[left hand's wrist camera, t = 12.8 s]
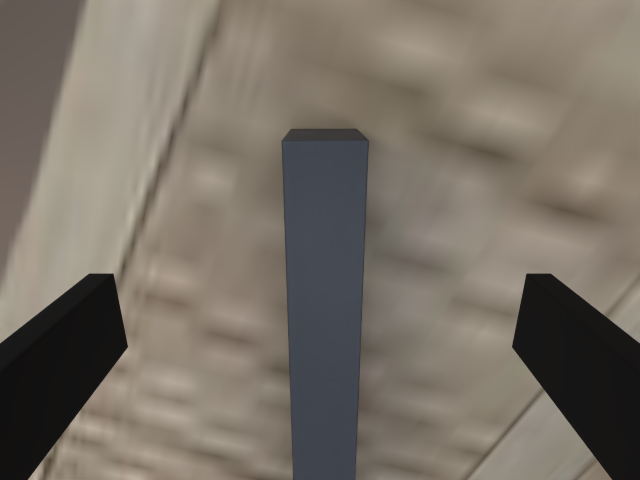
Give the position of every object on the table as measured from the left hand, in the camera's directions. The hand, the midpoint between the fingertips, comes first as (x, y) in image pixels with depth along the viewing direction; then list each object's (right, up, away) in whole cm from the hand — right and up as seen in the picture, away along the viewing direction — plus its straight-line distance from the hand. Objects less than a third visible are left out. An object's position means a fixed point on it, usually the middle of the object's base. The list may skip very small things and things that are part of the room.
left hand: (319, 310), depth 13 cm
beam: (0, -16, +27) cm, 31 cm away
